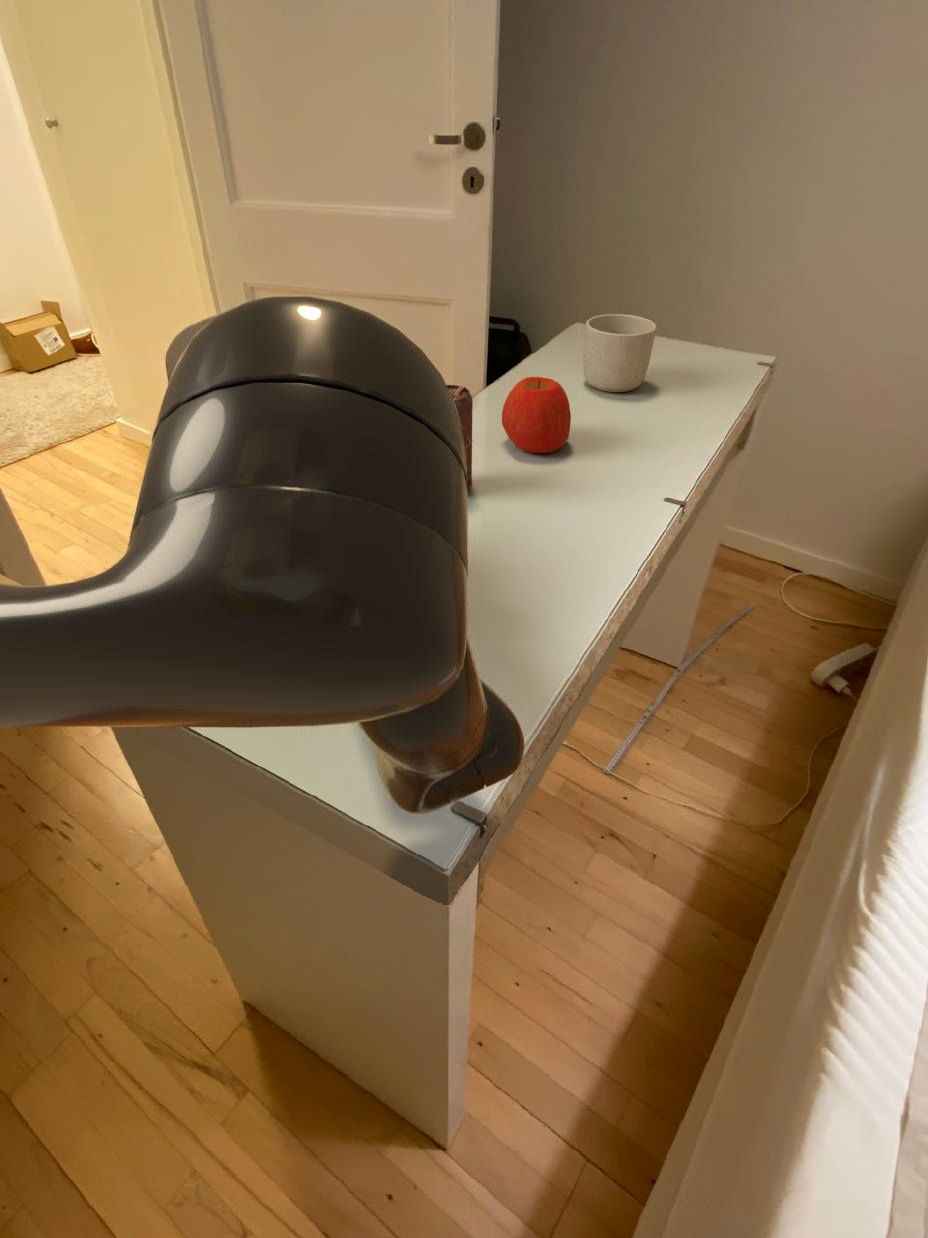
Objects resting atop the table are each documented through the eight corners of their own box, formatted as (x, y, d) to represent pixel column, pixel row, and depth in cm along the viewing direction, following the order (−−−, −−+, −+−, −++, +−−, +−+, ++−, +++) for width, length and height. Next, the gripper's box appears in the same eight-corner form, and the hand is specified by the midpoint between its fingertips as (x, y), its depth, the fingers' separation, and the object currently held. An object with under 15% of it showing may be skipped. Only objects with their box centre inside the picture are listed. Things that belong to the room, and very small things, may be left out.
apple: (487, 442, 109) (488, 376, 102) (536, 424, 114) (540, 360, 108) (533, 466, 103) (538, 397, 96) (583, 446, 108) (591, 379, 101)
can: (480, 483, 98) (482, 388, 90) (456, 502, 94) (456, 404, 85) (445, 472, 101) (443, 379, 92) (420, 490, 97) (416, 394, 88)
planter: (657, 394, 125) (669, 332, 118) (593, 399, 122) (601, 337, 115) (629, 370, 134) (638, 311, 127) (570, 375, 132) (576, 316, 125)
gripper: (470, 564, 60) (418, 479, 73) (307, 595, 57) (282, 500, 69) (469, 629, 65) (421, 538, 78) (319, 661, 62) (294, 561, 74)
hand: (356, 521), depth 73 cm, fingers closed on pill bottle, 5 cm apart
